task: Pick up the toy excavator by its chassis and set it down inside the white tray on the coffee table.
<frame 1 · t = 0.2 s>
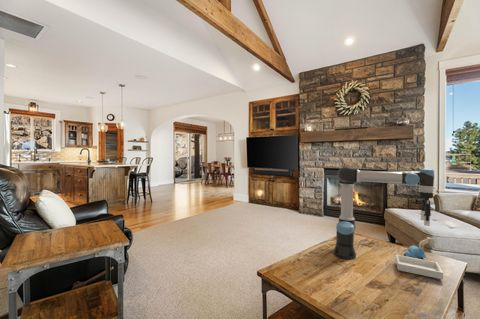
hand: (424, 222, 160), 28 cm above the table, fingers open, 13 cm apart
toy excavator: (418, 261, 164), on the table
white tray: (417, 271, 150), on the table
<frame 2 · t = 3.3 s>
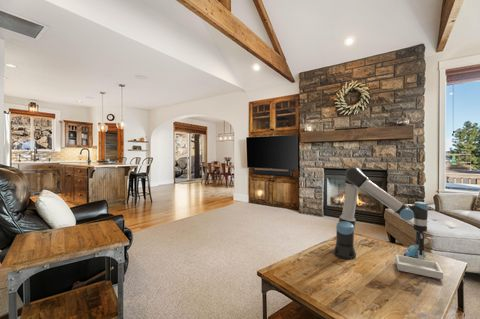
hand: (419, 256, 163), 4 cm above the table, fingers closed on toy excavator, 9 cm apart
toy excavator: (418, 261, 164), on the table, touching gripper
when the fingers open (7 cm above the table, at t = 10.8 s): toy excavator drops 1 cm, resting on white tray.
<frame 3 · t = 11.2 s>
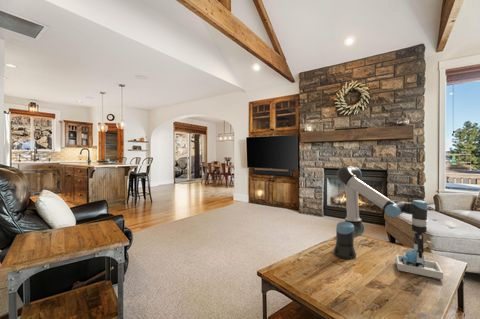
hand: (417, 258, 150), 9 cm above the table, fingers open, 13 cm apart
toy excavator: (417, 267, 151), point 2 cm above the table, touching white tray
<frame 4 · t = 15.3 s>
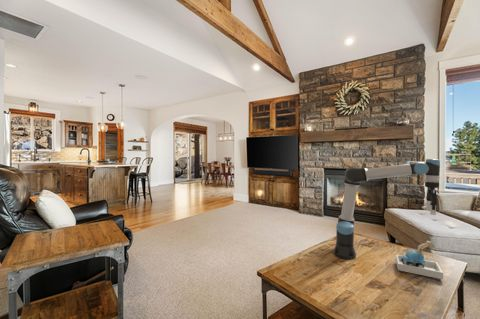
hand: (430, 212, 162), 35 cm above the table, fingers open, 13 cm apart
nothing on the table moved.
at the end: toy excavator inside the target area on the white tray (0.3 cm from its centre), point 2.3 cm above the white tray's base; the gripper is holding nothing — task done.
